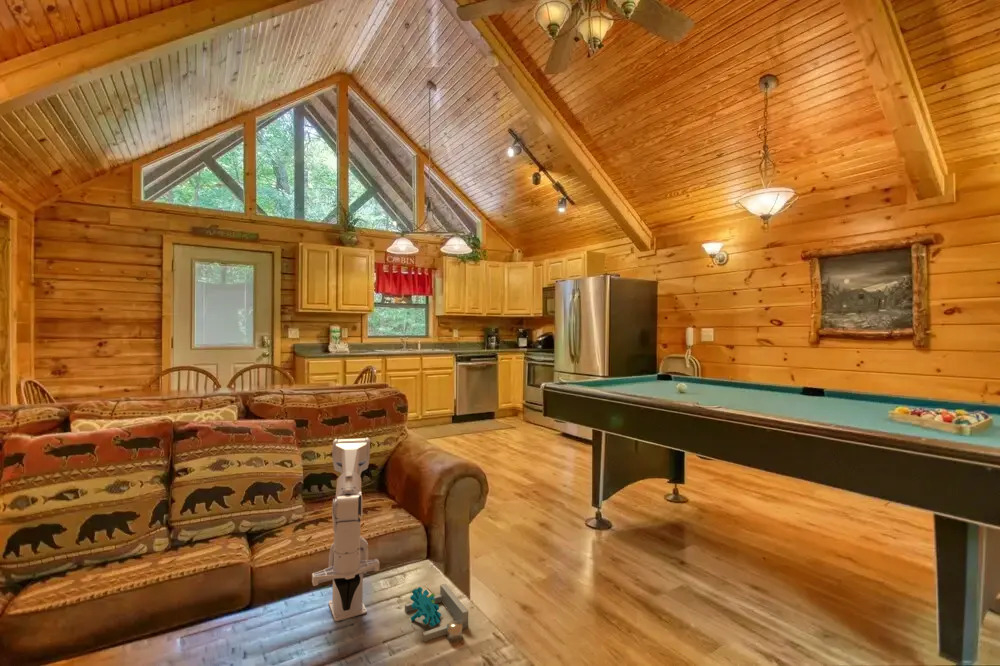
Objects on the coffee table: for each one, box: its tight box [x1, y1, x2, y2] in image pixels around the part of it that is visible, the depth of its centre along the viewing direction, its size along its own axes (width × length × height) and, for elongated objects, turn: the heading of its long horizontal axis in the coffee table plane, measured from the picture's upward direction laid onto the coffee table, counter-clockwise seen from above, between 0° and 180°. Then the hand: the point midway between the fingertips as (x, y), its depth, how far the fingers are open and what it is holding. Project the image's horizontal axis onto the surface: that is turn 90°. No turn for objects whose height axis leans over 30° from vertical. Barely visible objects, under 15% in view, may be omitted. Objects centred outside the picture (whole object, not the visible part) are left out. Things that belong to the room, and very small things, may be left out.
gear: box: [409, 586, 442, 628], centre depth 120 cm, size 11×6×10 cm
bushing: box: [446, 619, 463, 643], centre depth 114 cm, size 4×4×3 cm
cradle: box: [404, 583, 469, 642], centre depth 121 cm, size 14×12×4 cm
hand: (346, 608), depth 108 cm, fingers closed
